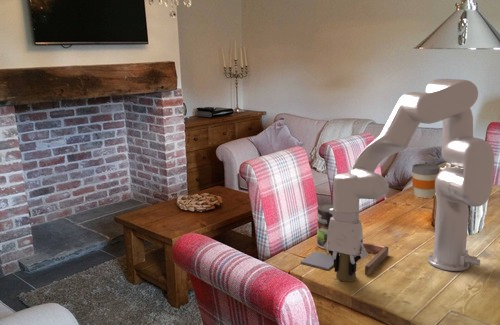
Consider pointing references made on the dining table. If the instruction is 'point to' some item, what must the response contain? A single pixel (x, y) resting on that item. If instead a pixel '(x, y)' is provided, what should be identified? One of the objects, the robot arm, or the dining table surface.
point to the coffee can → (323, 223)
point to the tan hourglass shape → (344, 268)
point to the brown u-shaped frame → (381, 255)
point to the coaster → (319, 260)
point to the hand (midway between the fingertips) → (344, 271)
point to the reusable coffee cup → (424, 179)
